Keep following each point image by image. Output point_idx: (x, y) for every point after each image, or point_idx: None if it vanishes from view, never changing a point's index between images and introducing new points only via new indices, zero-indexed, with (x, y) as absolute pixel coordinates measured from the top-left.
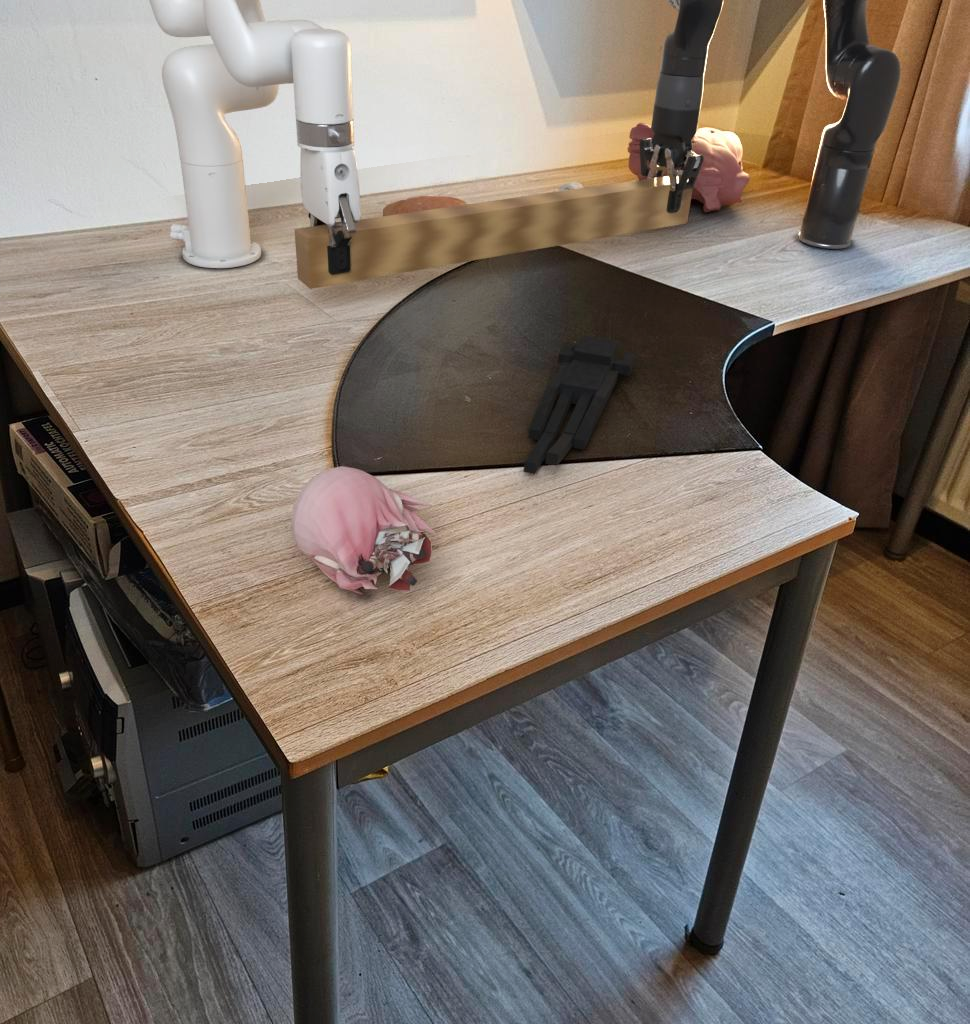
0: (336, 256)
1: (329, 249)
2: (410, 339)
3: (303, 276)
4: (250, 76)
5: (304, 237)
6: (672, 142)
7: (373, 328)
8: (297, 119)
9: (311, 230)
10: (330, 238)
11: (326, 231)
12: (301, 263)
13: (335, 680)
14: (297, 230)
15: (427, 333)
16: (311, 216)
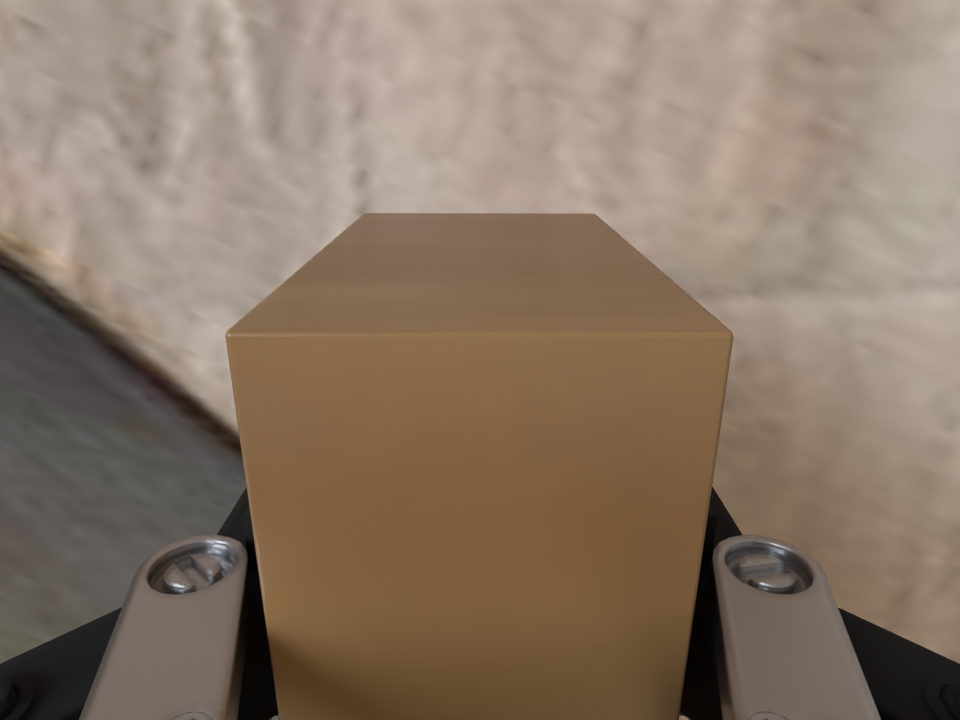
0: (230, 515)
1: (248, 507)
2: (51, 508)
3: (479, 222)
4: None
5: (335, 326)
6: None
7: (219, 425)
8: None
9: (536, 517)
10: (187, 604)
11: (409, 656)
12: (507, 240)
13: None
14: (632, 343)
15: (94, 590)
16: (838, 708)
